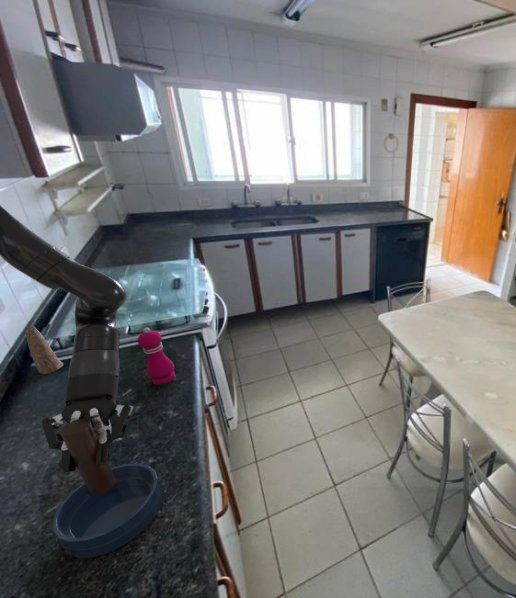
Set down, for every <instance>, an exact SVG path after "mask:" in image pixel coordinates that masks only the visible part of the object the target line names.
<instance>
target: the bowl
mask: <svg viewBox="0 0 516 598" xmlns="http://www.w3.org/2000/svg"><path fill="white" fill-rule="evenodd" d="M111 470H112V472H113V474H114V477H115V479H116V482H115V484H114V486H113V487H112V488H111V489H110V490H108V491H107V492H105V493H103V494H100V495H91V494H90V492H89V490H88V488H87V486H86V484H85V482H84V481H83V482H82V483H81V484H80V485H78V486H77V487H76V488H75V489H74V490H73V491H71V492H70V493H69V494H68V496H67V497H65V499H64V500H63V501H62V503H61V504H60V505H59V506H58V508H57V510H56V511H55V514H54V516H53V518H52V532H53V533H54V535H55V537H56V538H57V540H58V542H59V543H60V545H61V547H62V548H63V550H65V552H66V553H67V555H68V556H71V557H74V558H78V559H91V558H97V557H100V556H104V555H106V554H109V553H112V552H114V551H116V550H117V549H119V548H121V547H123V546H125V545H126V544H128V543H129V542H131V541H132V540H133V539H135V538H136V537H138V536H139V535H140V534H141V533H142V532H143V531H144V530H145V529H146V528H147V527H148V526H149V525H150V523H151V522H152V521H153V520H154V519H155V518H156V516H157V514H158V512H159V510H160V509H161V507H162V501H163V497H164V493H163V490H162V487H161V485H160V482H159V477H158V476H157V472H156V470H155V469H153V467H151V466H149V465H148V464H143V463H137V462H136V463H125V464H121V465H118V466H117V465H116V466H114V467H111Z"/></svg>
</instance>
